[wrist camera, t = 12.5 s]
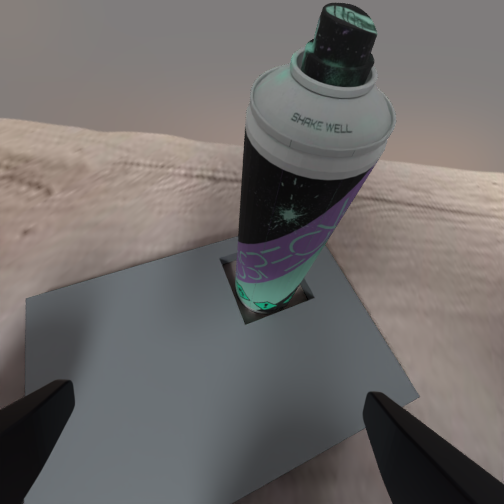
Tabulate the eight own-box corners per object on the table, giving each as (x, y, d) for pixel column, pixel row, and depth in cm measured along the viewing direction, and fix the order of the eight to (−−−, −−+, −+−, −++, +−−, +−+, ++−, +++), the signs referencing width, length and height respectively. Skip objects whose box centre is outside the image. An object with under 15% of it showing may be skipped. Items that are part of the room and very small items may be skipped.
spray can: (226, 271, 25) (222, -20, 8) (276, 253, 26) (369, -26, 9) (249, 324, 23) (320, 80, 5) (302, 300, 24) (496, 49, 7)
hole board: (408, 397, 21) (419, 396, 19) (41, 601, 14) (22, 622, 13) (303, 224, 29) (307, 215, 27) (37, 304, 22) (25, 298, 21)
